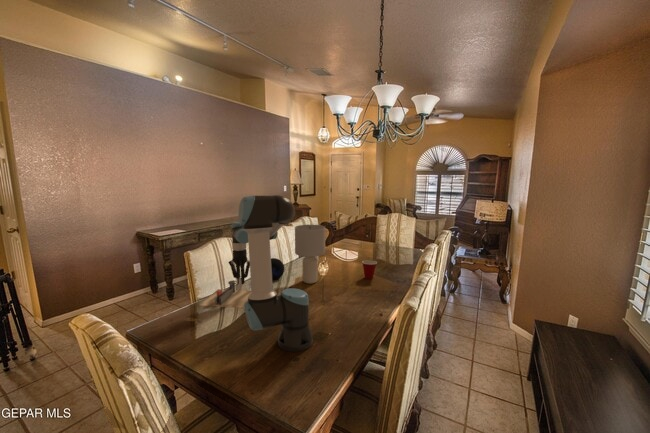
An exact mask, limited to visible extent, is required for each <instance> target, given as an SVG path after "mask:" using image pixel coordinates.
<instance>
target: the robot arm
mask: <svg viewBox="0 0 650 433" xmlns="http://www.w3.org/2000/svg"><path fill="white" fill-rule="evenodd" d="M238 207H239V208H238V214H237V216H238V221H233V222H232V223H231V228H230V229H231V242H232V244H231V245H232V247H231V248H232V258H231V260H229V261H228V264H229V266H230V269H231V273H232V276H233V278H234V279H236V281H237V283H236V284H237V285H238V290H241V291H243V290H244V284H245V283H246V282H245V279H246V278H247V277H248V276H249V274H250V287H251V288H250V289H251V290H250V291H252V292H251V293H250V295H249V296H248V301H247V302H245V303H244V308H243V309H244V313H245V314H244V315H245V317H246V321H247V324H248V326H249V328H250V329H251V330H252V331H255V332H256V331H259V330H265V329H269V328H272V327H276V326H281V328H280V331H279V333H278V336H277V343H278V346H279V348H280V349H282V350H283V351H286V352H293V353H296V352H302V351H305V350H308V348H310V347H311V346H312V344H313V338H314V336H313V333H312V330H311V327H310V325H309V323H310V322H309V320H310V319H309V316H310V314H309V313H310V312H309V311H310V310H309V309H310V308H309V307H310V301H309V294H308V293H307V292H306V291H305V290H302V289H300V288H294V287H292V288H285V289H283V290H282V291H281V293H280V295H278V293H277V291H276V290H275V289H274V286H273V285H274V284H273V280H272V268H271V258H272V256H271V241H272V240H276V239H277V237H278V232H279V230H281V229H282V227H283V226H284V225H287V224H289V223H291V221H292V220H294V217H295V215H296V209H295V205H294V203H293V202H292V201H291V200H290V199H288V197H286V196H284V195H279V194H278V195H247V196H243V197H242V198H241V200H240V203H239V206H238ZM247 244H248V252H247ZM247 256H248V257H247ZM248 258H249V259H248ZM245 264H246V266H245Z"/></svg>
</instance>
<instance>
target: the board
mask: <svg viewBox="0 0 650 433" xmlns="http://www.w3.org/2000/svg"><path fill="white" fill-rule="evenodd" d="M218 290H219V289H216V290H215V291H214V292H213V293H212V294H211V295H209V297H207V298H206V299H205V300H203V302H201V303H200V304H199V306H201V307H202V306H205V307H206V306H207V307H219V308H220V307H223V308H239V309H240V308H241V309H244V303H245V302H247V301H248V296H249V295H250V293H251V292H252V290H239V289H238V290H237V289H235V292H234V293H233V294H232V295H231V296H230V297H229V298H228V299H227V300H226V301H225V302H224V303H223V304H222V305H219V303H218V304H217V305H215V297H216V296H217V291H218ZM224 290H225V289H222V292H223V291H224Z"/></svg>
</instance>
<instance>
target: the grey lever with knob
mask: <svg viewBox="0 0 650 433" xmlns="http://www.w3.org/2000/svg"><path fill="white" fill-rule="evenodd" d="M227 283H228V285H229V287H230V289H228V290H227V291H226V292H225V293H224V294H223V295H222V296H220V297H219V305H222V304H223V303H224V302H225V301H226V300H227V299H228V298H229V297H230V296H231V295H232V294H233V284H235V285H236V284H237V280H234V279H233V280H229V281H228V282H227Z"/></svg>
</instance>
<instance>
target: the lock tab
mask: <svg viewBox="0 0 650 433" xmlns="http://www.w3.org/2000/svg"><path fill="white" fill-rule="evenodd" d="M217 290H218V289H217ZM217 290H216V291H217ZM222 290H223V289H219V290H218V291H217V296H220V295H221V294H222Z"/></svg>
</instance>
